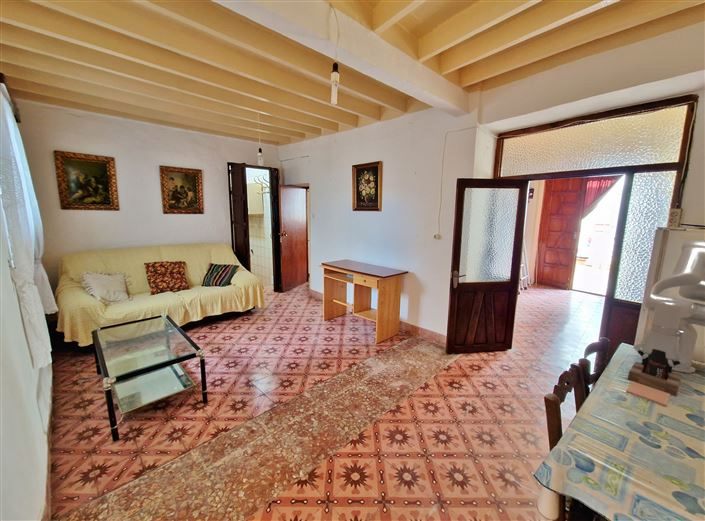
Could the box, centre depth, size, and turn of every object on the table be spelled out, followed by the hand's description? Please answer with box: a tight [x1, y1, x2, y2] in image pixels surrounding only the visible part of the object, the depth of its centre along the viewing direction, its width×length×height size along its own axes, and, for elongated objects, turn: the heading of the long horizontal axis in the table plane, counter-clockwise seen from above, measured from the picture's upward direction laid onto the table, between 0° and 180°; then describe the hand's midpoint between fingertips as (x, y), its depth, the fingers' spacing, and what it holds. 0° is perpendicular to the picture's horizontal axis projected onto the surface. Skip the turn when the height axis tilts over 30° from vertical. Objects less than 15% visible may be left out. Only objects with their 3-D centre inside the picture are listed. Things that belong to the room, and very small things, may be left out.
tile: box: [626, 381, 671, 408], centre depth 114 cm, size 11×11×1 cm
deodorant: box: [645, 349, 668, 380], centre depth 121 cm, size 6×6×15 cm
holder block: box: [627, 361, 682, 397], centre depth 122 cm, size 14×14×4 cm
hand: (655, 369), depth 122 cm, fingers closed on deodorant, 5 cm apart
